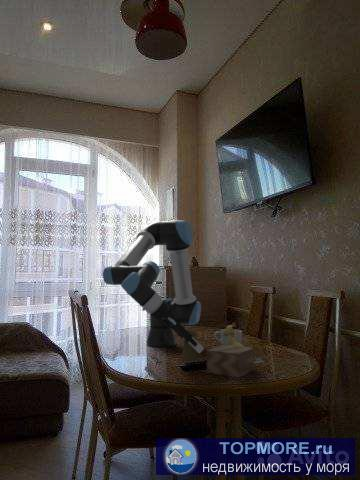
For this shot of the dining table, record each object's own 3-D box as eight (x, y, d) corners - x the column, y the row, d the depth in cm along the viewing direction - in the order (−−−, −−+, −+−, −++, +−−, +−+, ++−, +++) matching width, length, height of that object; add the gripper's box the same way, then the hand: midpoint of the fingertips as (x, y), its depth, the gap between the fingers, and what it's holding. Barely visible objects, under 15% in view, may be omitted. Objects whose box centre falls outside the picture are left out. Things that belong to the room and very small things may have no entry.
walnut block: (207, 372, 134) (206, 350, 135) (223, 364, 145) (223, 344, 146) (239, 377, 127) (238, 354, 128) (254, 369, 138) (253, 347, 138)
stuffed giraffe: (216, 355, 163) (216, 319, 164) (256, 356, 163) (256, 320, 164) (220, 365, 147) (221, 325, 148) (265, 367, 147) (265, 326, 148)
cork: (181, 357, 140) (180, 328, 141) (196, 357, 140) (196, 328, 141) (182, 361, 134) (182, 331, 135) (198, 361, 134) (198, 330, 135)
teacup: (241, 344, 187) (241, 328, 187) (243, 349, 176) (242, 332, 177) (214, 344, 188) (214, 328, 189) (214, 348, 177) (213, 331, 178)
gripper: (144, 311, 143) (185, 351, 146) (154, 317, 126) (200, 362, 129) (158, 297, 145) (198, 337, 148) (168, 301, 128) (214, 346, 131)
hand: (198, 349), depth 138 cm, fingers closed on cork, 5 cm apart
